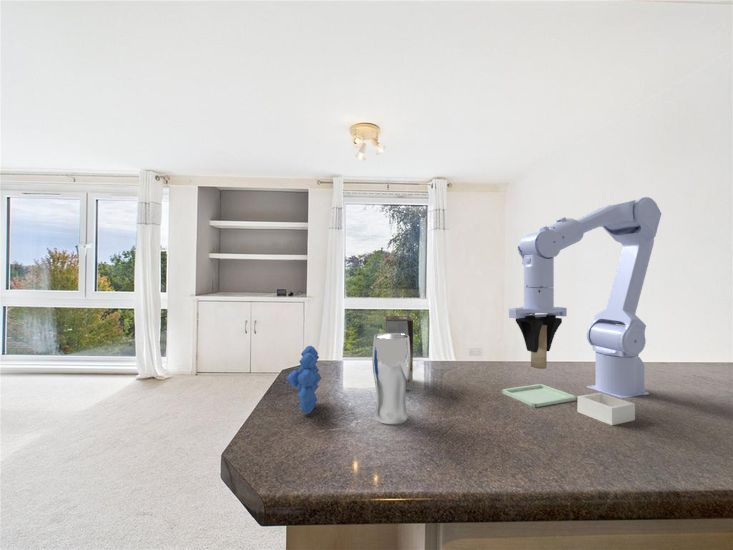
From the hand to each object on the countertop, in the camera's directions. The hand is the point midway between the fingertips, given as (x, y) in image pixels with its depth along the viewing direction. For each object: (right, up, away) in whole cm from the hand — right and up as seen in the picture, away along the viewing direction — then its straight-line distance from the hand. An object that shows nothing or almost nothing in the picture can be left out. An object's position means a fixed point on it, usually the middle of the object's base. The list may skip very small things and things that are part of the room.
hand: (538, 350), depth 71 cm
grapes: (-49, -10, -7) cm, 51 cm away
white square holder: (+7, -10, -10) cm, 16 cm away
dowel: (0, -3, 0) cm, 3 cm away
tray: (0, -10, 0) cm, 10 cm away
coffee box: (-29, -10, +9) cm, 32 cm away
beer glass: (-32, -10, -10) cm, 36 cm away
